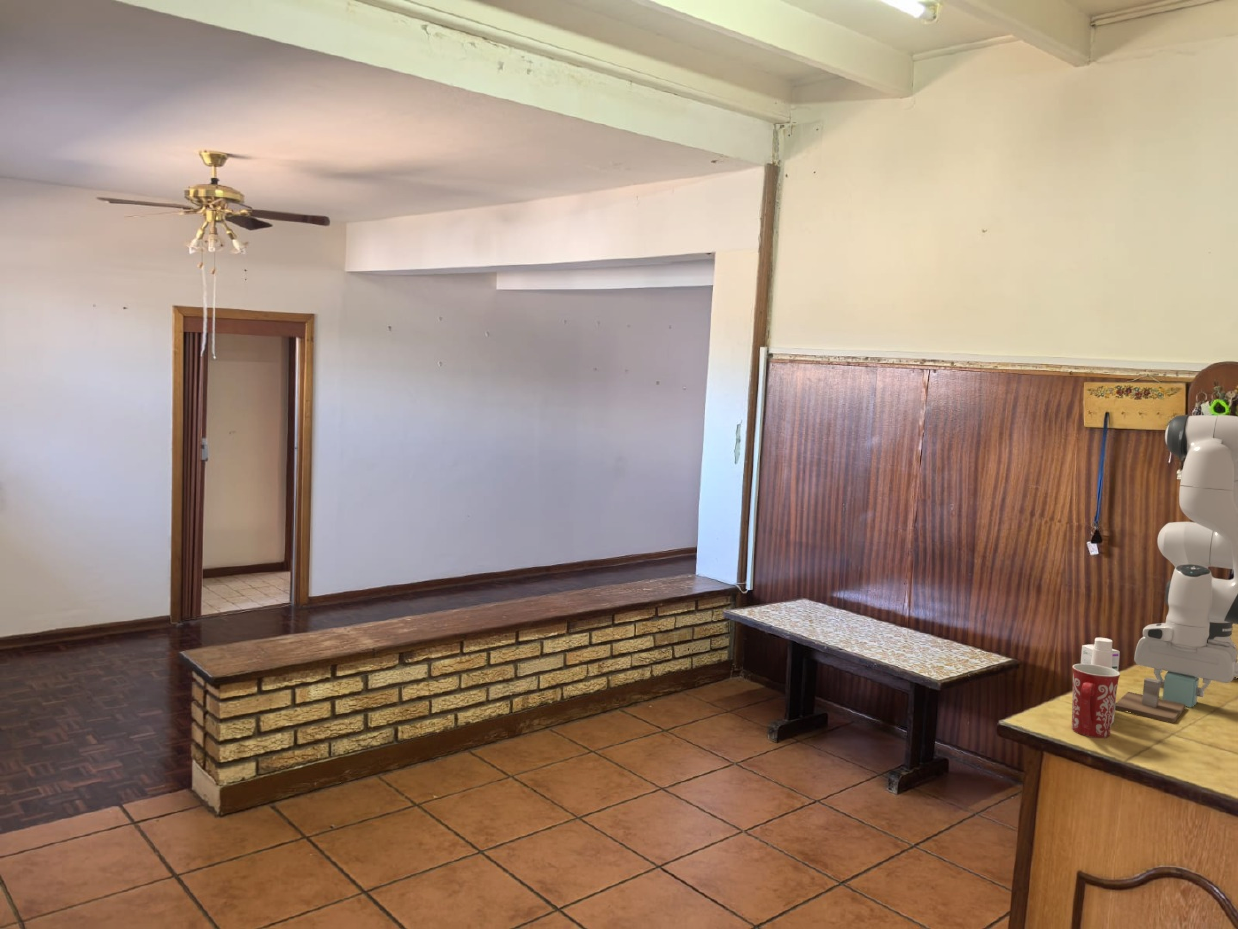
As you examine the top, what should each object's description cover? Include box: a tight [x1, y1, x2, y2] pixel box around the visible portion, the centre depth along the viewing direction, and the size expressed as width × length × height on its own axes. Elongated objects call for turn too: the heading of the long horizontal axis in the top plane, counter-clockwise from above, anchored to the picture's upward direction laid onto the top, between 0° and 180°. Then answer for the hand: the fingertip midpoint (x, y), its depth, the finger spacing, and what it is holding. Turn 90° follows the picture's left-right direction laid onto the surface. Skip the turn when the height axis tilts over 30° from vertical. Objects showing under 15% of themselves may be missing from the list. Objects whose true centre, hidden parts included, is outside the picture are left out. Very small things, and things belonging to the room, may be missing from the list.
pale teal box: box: [1162, 671, 1200, 709], centre depth 226 cm, size 6×6×7 cm
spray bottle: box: [1091, 637, 1118, 725], centre depth 209 cm, size 7×7×18 cm
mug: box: [1071, 663, 1121, 739], centre depth 200 cm, size 13×9×14 cm
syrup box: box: [1080, 643, 1121, 704], centre depth 216 cm, size 6×6×14 cm
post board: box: [1115, 677, 1186, 724], centre depth 219 cm, size 14×12×7 cm
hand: (1180, 692), depth 226 cm, fingers closed on pale teal box, 6 cm apart
